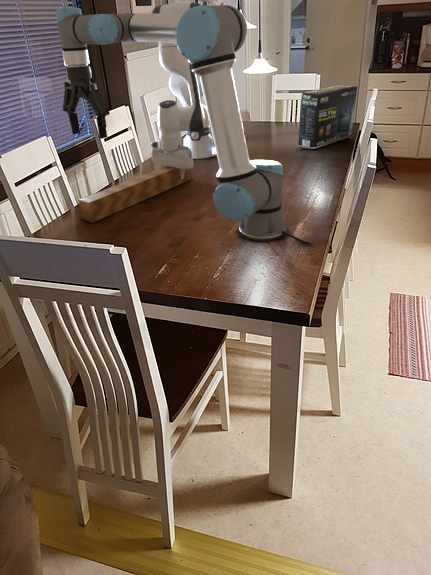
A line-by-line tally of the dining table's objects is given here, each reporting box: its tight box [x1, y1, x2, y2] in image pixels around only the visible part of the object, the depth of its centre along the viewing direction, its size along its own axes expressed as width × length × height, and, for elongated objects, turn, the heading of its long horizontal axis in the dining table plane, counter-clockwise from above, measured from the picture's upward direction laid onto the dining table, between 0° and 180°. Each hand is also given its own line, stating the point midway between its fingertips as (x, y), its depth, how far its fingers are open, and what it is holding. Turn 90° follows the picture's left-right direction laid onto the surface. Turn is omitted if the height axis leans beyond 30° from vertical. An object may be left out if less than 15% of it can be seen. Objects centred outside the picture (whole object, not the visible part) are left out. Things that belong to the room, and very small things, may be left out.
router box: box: [297, 84, 358, 151], centre depth 238 cm, size 36×11×27 cm, turn 134°
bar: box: [78, 166, 191, 224], centre depth 180 cm, size 55×6×7 cm, turn 144°
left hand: (173, 177), depth 194 cm, fingers open, 7 cm apart
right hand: (89, 135), depth 154 cm, fingers open, 13 cm apart
